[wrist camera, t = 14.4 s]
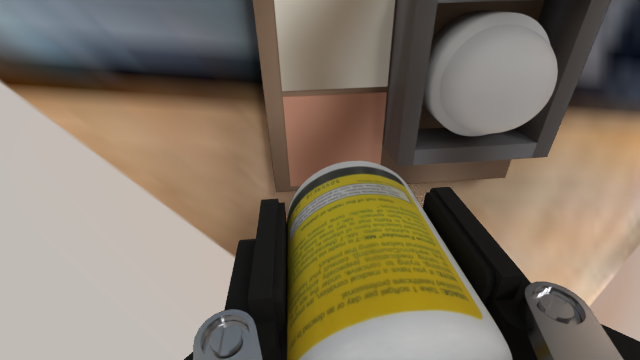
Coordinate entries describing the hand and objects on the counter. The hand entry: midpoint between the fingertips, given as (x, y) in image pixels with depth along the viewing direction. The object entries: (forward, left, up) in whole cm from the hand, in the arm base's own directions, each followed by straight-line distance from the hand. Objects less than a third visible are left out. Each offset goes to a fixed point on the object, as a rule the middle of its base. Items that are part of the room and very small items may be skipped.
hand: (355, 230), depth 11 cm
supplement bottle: (0, 0, -1) cm, 1 cm away
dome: (-7, -4, -7) cm, 10 cm away
